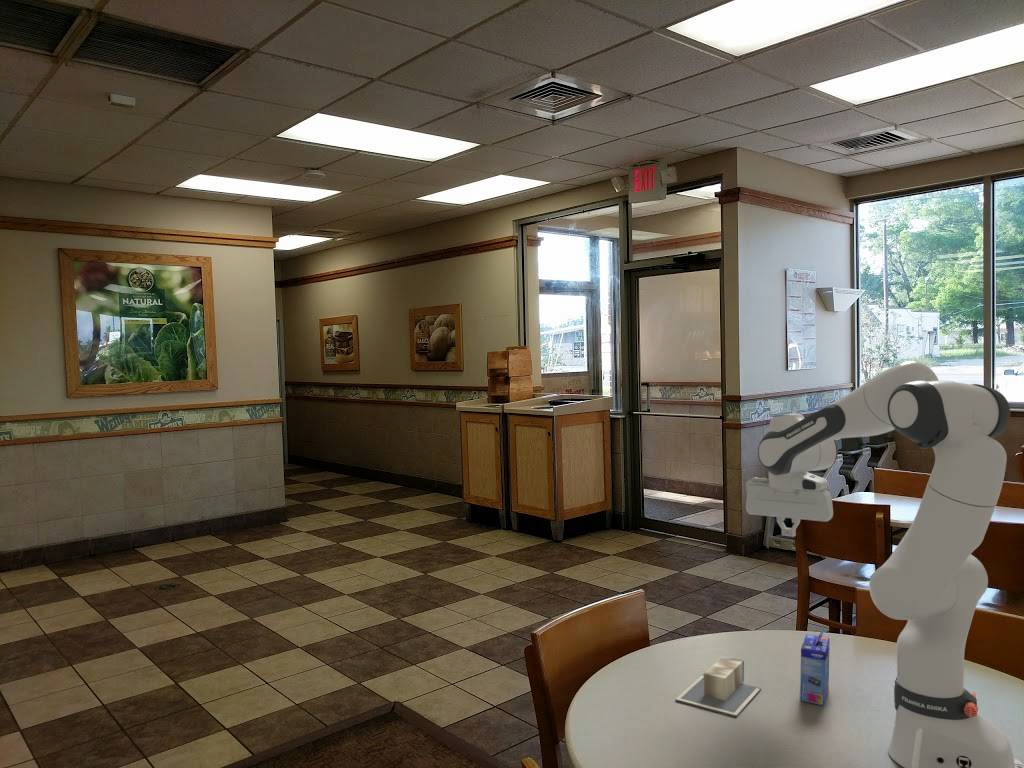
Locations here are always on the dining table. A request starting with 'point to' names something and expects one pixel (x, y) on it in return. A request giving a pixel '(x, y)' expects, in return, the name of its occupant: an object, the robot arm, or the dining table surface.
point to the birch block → (723, 677)
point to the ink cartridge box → (814, 669)
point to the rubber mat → (728, 707)
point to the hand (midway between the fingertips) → (788, 535)
